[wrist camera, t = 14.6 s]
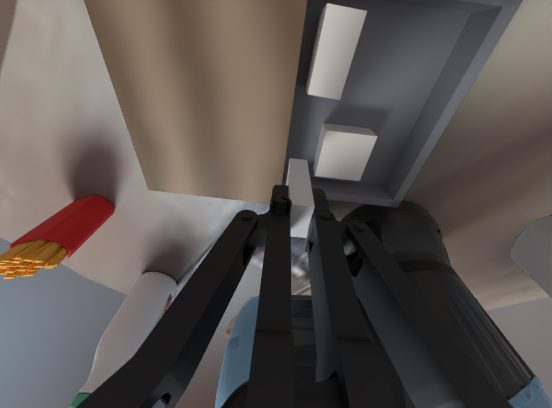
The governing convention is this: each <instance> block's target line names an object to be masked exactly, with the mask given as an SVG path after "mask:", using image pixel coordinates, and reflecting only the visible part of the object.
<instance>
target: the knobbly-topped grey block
mask: <svg viewBox="0 0 552 408" xmlns="http://www.w3.org/2000/svg"><path fill="white" fill-rule="evenodd" d="M510 257H511V259H512V260H513V261H514V262H515V263H516V264H517V265H518V266H519V267H520V268H521V269H522V270H523V271H524V272H525V273H526V274H527V275H528V276H529V277H530V278H531V279H533V280H534V281H535V282H536V283H537V284H538V285H539V286H540V287H541V288H542V289H543V290H544V291H545V292H546V293H547V294H548V295H549V296H550V297H552V215H550V216H546V217H543V218H541V219H538V220H537V221H535V222H533V223H531V224H530V225H529V226H527V227H526V228H525V229H524V230H523V231H522V232H521V234H520V235H519V237H518V238H517V240H516V241H515V243H514V245H513V247H512V249H511V252H510Z"/></svg>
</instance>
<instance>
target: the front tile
mask: <svg viewBox="0 0 552 408" xmlns="http://www.w3.org/2000/svg"><path fill="white" fill-rule="evenodd" d="M366 13H367V11H364V10H359V9H354V8H349V7H344V6H339V5H334V4H329V3H327V4H326V6H325V7H324V8H323V9H322V10H321V12H320V13H319V14H318V18H317V23H316V28H315V33H314V38H313V43H312V47H311V52H310V57H309V62H308V67H307V72H306V77H305V82H304V87H305V89H306V91H307V94H308V95H314V96H319V97H325V98H331V99H337V100H340V98H341V95H342V91H343V88H344V85H345V82H346V78H347V75H348V72H349V69H350V65H351V62H352V59H353V56H354V52H355V49H356V46H357V43H358V39H359V36H360V33H361V30H362V26H363V23H364V20H365V17H366Z"/></svg>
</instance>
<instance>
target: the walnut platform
mask: <svg viewBox="0 0 552 408" xmlns="http://www.w3.org/2000/svg"><path fill="white" fill-rule="evenodd" d="M84 2H85V5H86V8H87V11H88V14H89V17H90V20H91V22H92V25H93V28H94V31H95V34H96V37H97V40H98V43H99V46H100V49H101V52H102V55H103V58H104V61H105V64H106V66H107V69H108V72H109V75H110V78H111V81H112V84H113V87H114V90H115V93H116V96H117V99H118V102H119V105H120V108H121V111H122V113H123V116H124V119H125V122H126V125H127V128H128V131H129V134H130V137H131V140H132V143H133V146H134V149H135V152H136V155H137V158H138V160H139V163H140V166H141V169H142V172H143V175H144V178H145V181H146V184H147V187H148V190H152V191H161V192H170V193H179V194H188V195H197V196H206V197H215V198H224V199H233V200H242V201H250V202H259V203H268V204H270V200H271V197H272V188H273V187H274V186H275V185H282V178H283V171H284V164H285V157H286V149H287V142H288V135H289V128H290V121H291V114H292V106H293V99H294V92H295V85H296V78H297V71H298V63H299V56H300V49H301V42H302V35H303V28H304V20H305V13H306V6H307V0H84Z"/></svg>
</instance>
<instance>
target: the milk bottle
mask: <svg viewBox="0 0 552 408" xmlns="http://www.w3.org/2000/svg"><path fill="white" fill-rule="evenodd" d="M176 288H177V284H176V282H175V280H174V279H173V278H171V277H170V276H168V275H165V274H163V273H159V272H146V273H144V274H143V275H141V276H140V278H139V279H138V281H137V282H136V284H135V285H134V287H133V288H132V290H131V291H130V293H129V294H128V296H127V297H126V299H125V301H124V302H123V304H122V305H121V307H120V308H119V310H118V311H117V313H116V314H115V316H114V317H113V319H112V320H111V322H110V324H109V325H108V327H107V329H106V330H105V332H104V334H103V335H102V337H101V339H100V341H99V344H98V346H97V349H96V354H95V358H94V363H93V367H92V370H91V373H90V376H89V378H88V380H87V382H86V384H85V385H84V387H83V388H81V389H80V391H79V393H78V394H77V395H76V397H75V398H74V400H73V402H72V403H71V405H70V408H76V407H77V406H78V405H79V404H80V403H81V402H82V401H83V400H85V399H86V398H87V397H88V396H89V395H90V394H91V393H92V392H94V391H95V390H96V389H97V388H98V387H99V386H100V385H101V384H103V383H104V382H105V381H106V380H107V379H108V378H109V377H110V376H112V375H113V374H114V373H115V372H116V371H117V370H118V369H119V368H121V367H122V366H123V365H124V364H125V363H126V362H127V361H128V360H130V359H131V358H132V357H133V356H134V354H135V353H136V352H137V350H138V349H139V348H140V346H141V345H142V343H143V342H144V341H145V339H146V338H147V337H148V335H149V334H150V332H151V331H152V330H153V328H154V327H155V326H156V324H157V323H158V321H159V320H160V319H161V317H162V316H163V315H164V313H165V312H166V310H167V308H168V306H169V304H170V302H171V299H172V297H173V295H174V293H175V291H176Z"/></svg>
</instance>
